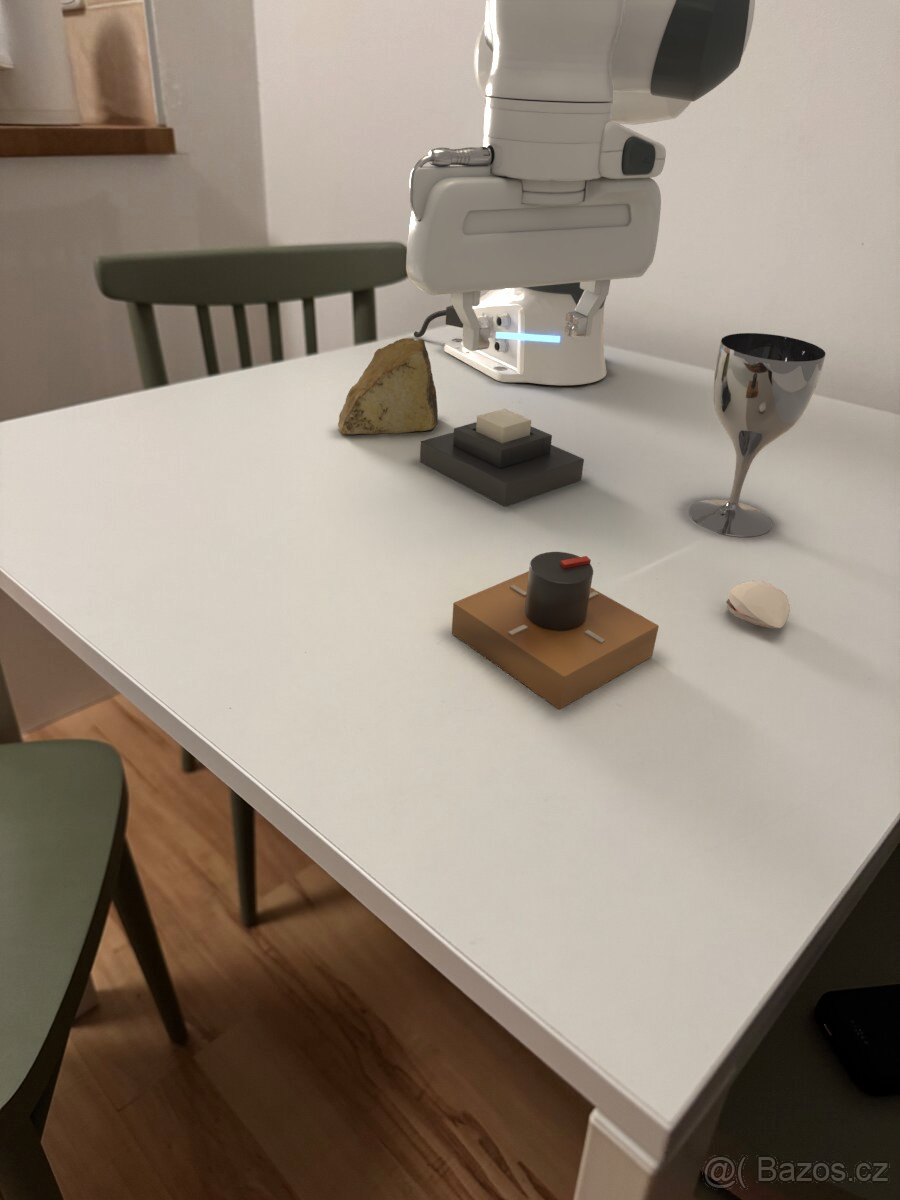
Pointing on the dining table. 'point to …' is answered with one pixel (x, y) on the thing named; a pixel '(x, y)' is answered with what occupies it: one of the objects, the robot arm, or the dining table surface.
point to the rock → (393, 393)
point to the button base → (502, 463)
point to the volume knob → (558, 590)
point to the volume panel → (553, 641)
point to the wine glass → (756, 413)
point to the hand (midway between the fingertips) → (527, 342)
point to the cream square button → (503, 425)
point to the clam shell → (759, 604)
